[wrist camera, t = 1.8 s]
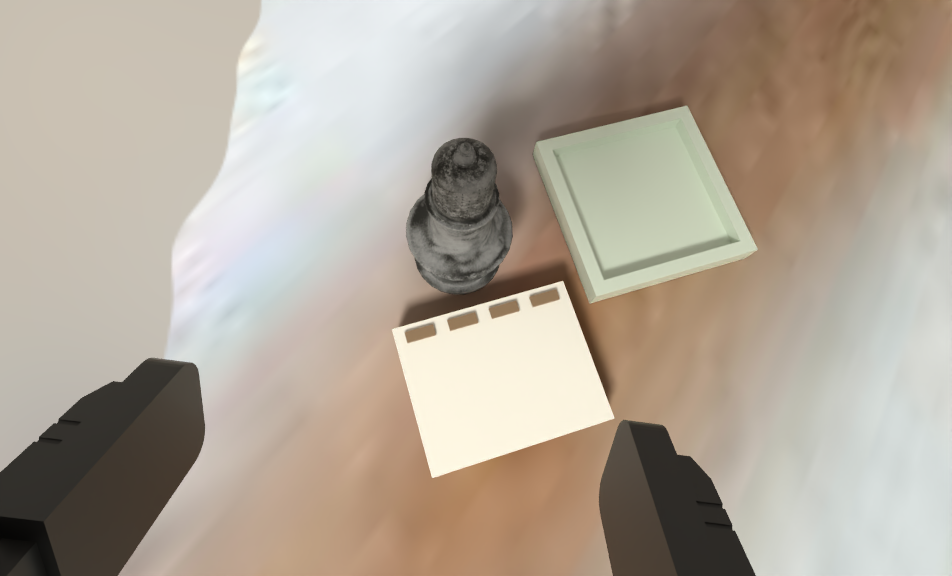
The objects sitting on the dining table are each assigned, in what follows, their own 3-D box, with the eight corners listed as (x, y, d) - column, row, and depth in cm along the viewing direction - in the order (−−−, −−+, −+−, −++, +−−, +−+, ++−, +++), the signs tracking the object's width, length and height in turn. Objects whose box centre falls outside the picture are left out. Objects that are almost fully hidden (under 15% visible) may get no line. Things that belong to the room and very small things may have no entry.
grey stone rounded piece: (513, 292, 33) (550, 201, 21) (415, 305, 32) (400, 218, 21) (497, 205, 35) (524, 77, 23) (404, 215, 34) (385, 89, 23)
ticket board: (556, 291, 33) (563, 279, 31) (603, 421, 31) (615, 418, 29) (394, 337, 32) (391, 328, 29) (432, 477, 29) (432, 478, 27)
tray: (677, 119, 37) (687, 105, 36) (744, 258, 34) (757, 249, 33) (532, 154, 36) (536, 142, 34) (589, 303, 33) (596, 296, 31)
